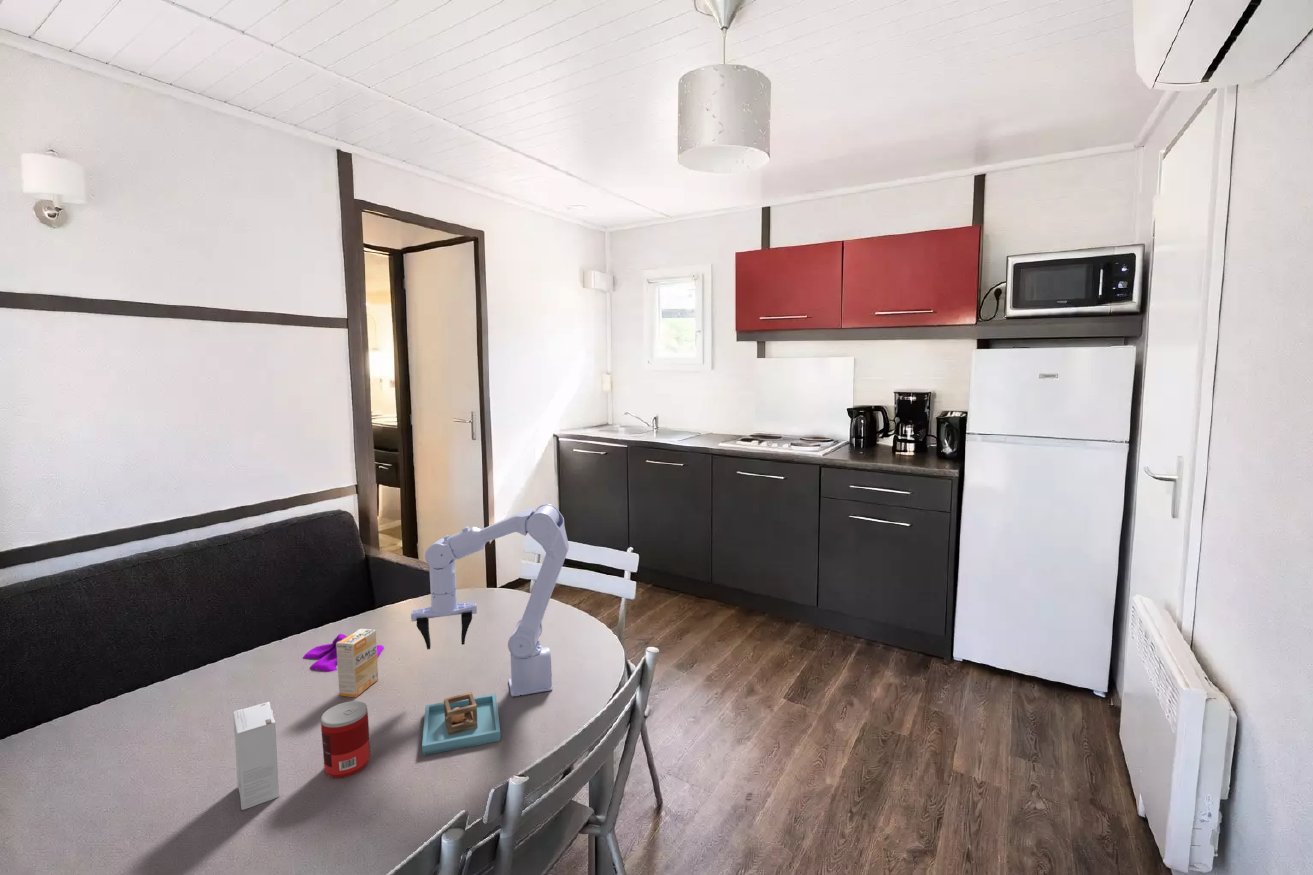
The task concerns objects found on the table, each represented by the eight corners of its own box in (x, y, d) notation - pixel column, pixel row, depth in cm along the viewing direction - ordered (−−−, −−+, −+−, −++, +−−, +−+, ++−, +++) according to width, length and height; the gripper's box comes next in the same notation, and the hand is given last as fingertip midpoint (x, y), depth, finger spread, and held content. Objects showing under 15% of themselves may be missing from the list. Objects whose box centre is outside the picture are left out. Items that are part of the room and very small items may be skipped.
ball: (466, 713, 130) (459, 702, 129) (467, 719, 127) (460, 708, 127) (453, 722, 129) (446, 710, 128) (454, 728, 126) (447, 716, 126)
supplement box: (356, 698, 139) (353, 644, 138) (338, 696, 140) (334, 642, 139) (379, 679, 147) (376, 629, 146) (362, 677, 148) (359, 627, 147)
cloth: (394, 656, 160) (393, 634, 159) (317, 682, 147) (315, 658, 147) (365, 630, 176) (364, 610, 175) (293, 651, 163) (291, 629, 162)
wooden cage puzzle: (472, 713, 132) (471, 692, 131) (477, 727, 127) (476, 705, 126) (444, 720, 129) (443, 698, 129) (448, 735, 124) (447, 712, 124)
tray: (496, 701, 138) (495, 693, 137) (500, 740, 124) (500, 731, 123) (426, 713, 133) (425, 705, 133) (422, 755, 119) (422, 746, 119)
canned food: (379, 756, 119) (376, 704, 117) (346, 783, 111) (342, 727, 110) (349, 748, 121) (345, 697, 120) (315, 774, 114) (311, 719, 112)
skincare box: (237, 786, 110) (230, 710, 108) (275, 772, 114) (269, 699, 112) (241, 813, 104) (234, 732, 102) (282, 797, 108) (276, 719, 106)
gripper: (475, 580, 147) (477, 633, 149) (411, 587, 143) (414, 642, 145) (476, 591, 141) (478, 646, 142) (409, 598, 136) (412, 655, 138)
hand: (446, 645), depth 143 cm, fingers open, 7 cm apart
